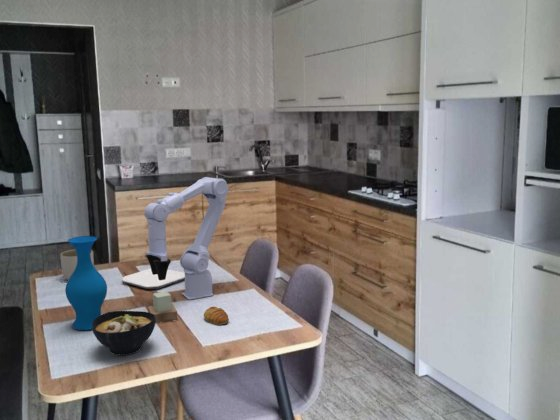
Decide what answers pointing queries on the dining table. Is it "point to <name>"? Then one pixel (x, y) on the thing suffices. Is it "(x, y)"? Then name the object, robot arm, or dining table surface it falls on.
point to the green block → (162, 301)
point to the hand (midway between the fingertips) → (158, 276)
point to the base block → (163, 314)
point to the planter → (70, 262)
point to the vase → (85, 285)
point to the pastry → (216, 316)
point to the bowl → (123, 330)
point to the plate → (153, 279)
